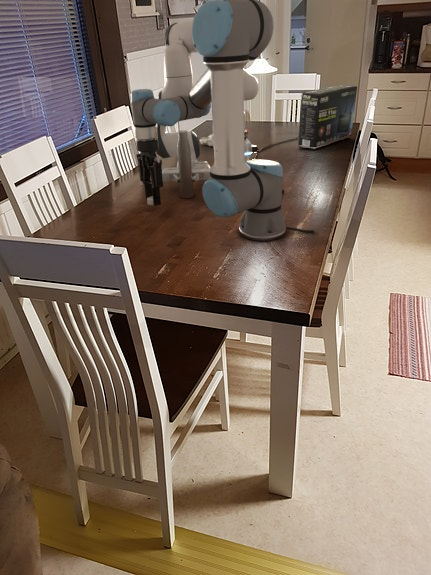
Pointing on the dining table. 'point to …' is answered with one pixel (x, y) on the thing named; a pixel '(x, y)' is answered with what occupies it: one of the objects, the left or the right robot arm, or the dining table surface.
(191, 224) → the dining table surface
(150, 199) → the cap
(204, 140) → the fossil
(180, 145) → the bottle
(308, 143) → the router box
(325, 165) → the dining table surface
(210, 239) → the dining table surface
